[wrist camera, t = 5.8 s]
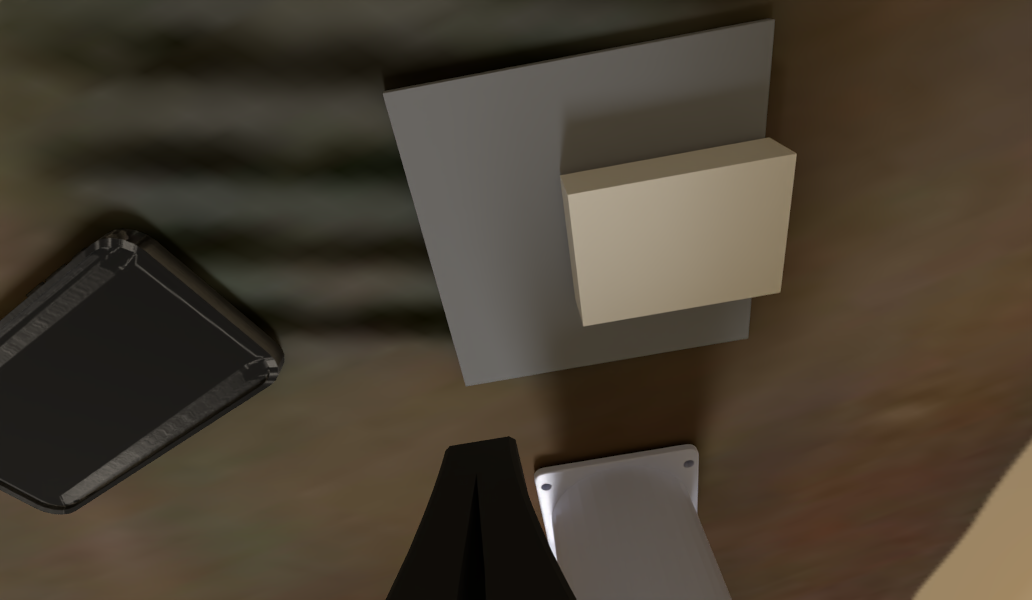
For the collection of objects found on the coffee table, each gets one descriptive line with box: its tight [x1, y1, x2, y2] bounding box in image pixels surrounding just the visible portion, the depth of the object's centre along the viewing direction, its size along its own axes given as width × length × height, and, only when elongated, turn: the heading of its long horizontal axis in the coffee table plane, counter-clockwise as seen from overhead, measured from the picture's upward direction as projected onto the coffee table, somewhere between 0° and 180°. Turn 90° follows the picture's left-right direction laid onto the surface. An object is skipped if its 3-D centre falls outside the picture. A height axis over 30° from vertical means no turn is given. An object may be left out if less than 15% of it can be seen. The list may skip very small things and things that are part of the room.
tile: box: [560, 137, 797, 326], centre depth 18 cm, size 5×2×7 cm
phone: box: [0, 229, 284, 514], centre depth 22 cm, size 8×1×15 cm
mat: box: [383, 18, 775, 386], centre depth 20 cm, size 12×12×1 cm
